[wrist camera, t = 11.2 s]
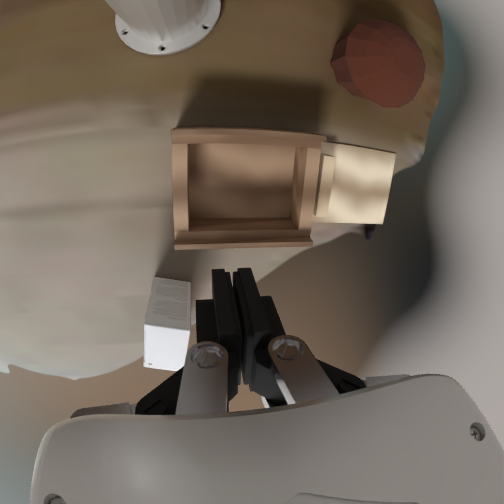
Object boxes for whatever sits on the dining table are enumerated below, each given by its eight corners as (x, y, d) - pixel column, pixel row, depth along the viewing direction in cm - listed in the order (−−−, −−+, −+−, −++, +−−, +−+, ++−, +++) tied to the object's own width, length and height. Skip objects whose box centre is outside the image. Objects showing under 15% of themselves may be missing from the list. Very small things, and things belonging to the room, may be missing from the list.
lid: (307, 139, 34) (316, 141, 31) (392, 153, 37) (404, 156, 34) (298, 219, 39) (305, 228, 37) (379, 222, 42) (390, 229, 39)
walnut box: (176, 127, 30) (170, 129, 25) (306, 131, 33) (326, 136, 28) (178, 228, 36) (174, 249, 31) (296, 226, 39) (312, 246, 34)
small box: (185, 322, 43) (184, 373, 34) (150, 317, 42) (143, 368, 33) (192, 280, 40) (192, 330, 31) (154, 275, 39) (143, 324, 29)
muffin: (367, 122, 33) (414, 130, 25) (305, 71, 29) (342, 59, 21) (403, 66, 30) (451, 63, 21) (348, 15, 26) (390, -5, 17)
